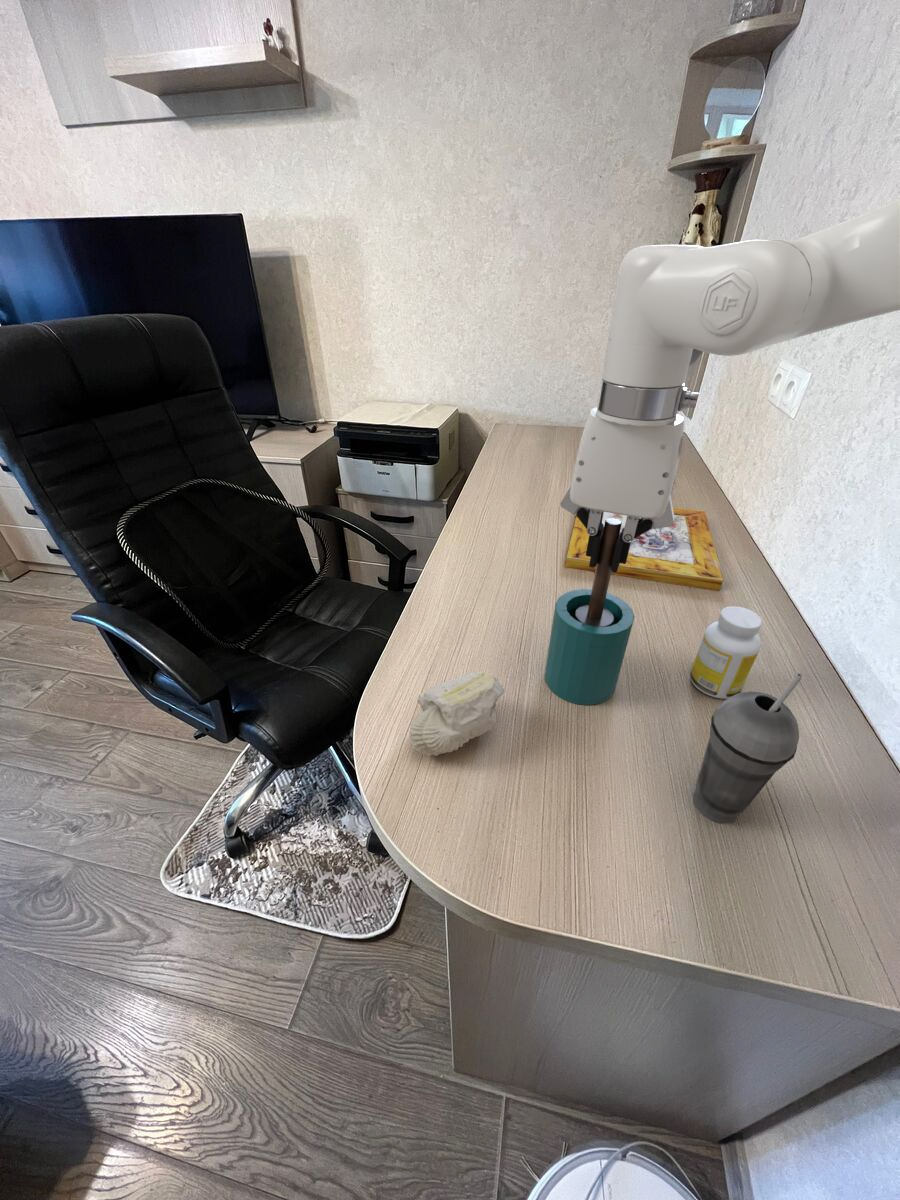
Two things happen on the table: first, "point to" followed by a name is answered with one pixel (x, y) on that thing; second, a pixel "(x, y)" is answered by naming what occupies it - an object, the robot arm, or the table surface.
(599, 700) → the jar
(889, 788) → the table surface
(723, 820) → the beverage cup
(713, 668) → the pill bottle
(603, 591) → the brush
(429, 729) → the fossil replica
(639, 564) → the picture frame
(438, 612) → the table surface
